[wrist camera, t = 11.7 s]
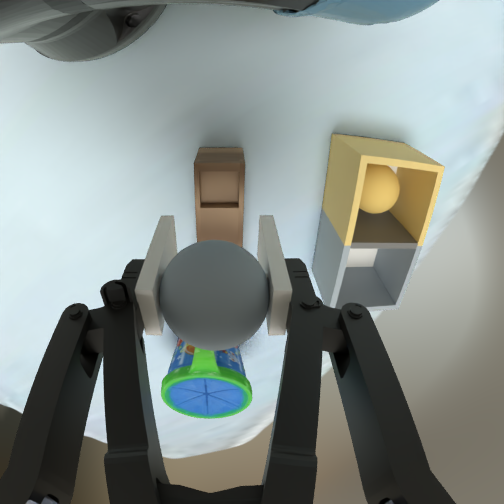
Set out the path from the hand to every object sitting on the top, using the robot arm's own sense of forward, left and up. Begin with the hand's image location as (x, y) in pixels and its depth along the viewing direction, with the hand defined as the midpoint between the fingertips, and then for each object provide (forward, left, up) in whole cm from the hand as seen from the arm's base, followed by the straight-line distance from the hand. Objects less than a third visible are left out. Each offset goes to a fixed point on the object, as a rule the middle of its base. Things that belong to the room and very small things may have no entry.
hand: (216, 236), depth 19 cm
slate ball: (0, 0, +3) cm, 3 cm away
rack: (+4, 0, -13) cm, 14 cm away
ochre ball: (0, +14, -12) cm, 19 cm away
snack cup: (+23, -2, -13) cm, 27 cm away
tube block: (+4, +14, -13) cm, 20 cm away
